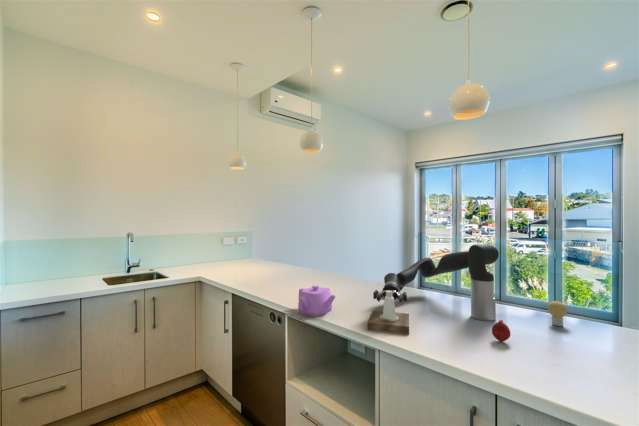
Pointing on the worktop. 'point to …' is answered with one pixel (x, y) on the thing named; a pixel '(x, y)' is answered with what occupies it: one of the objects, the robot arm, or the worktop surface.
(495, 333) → the onion
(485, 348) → the worktop surface
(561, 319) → the light bulb
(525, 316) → the worktop surface
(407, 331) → the walnut plinth
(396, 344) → the worktop surface
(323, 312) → the teakettle
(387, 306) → the pepper shaker
